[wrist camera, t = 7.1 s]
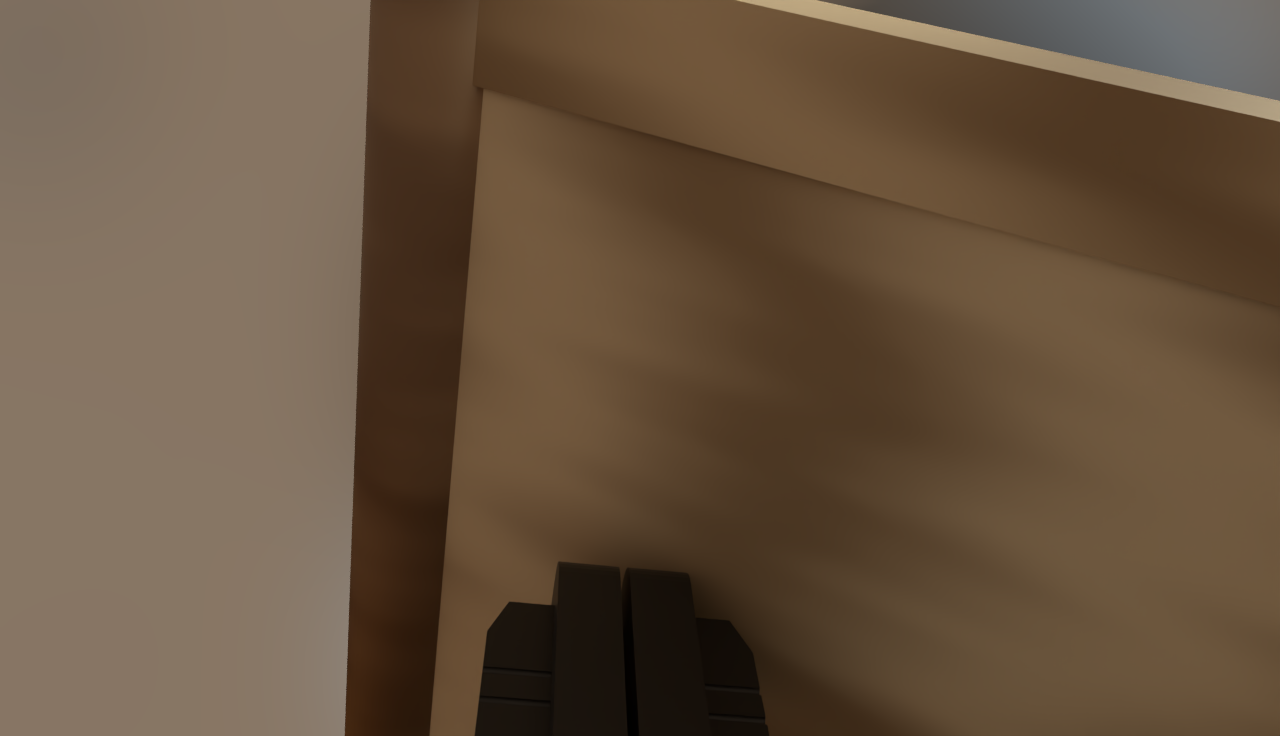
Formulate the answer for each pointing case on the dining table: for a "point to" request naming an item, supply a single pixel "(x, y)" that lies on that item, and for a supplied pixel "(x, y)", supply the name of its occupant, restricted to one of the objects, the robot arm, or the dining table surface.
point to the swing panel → (820, 363)
